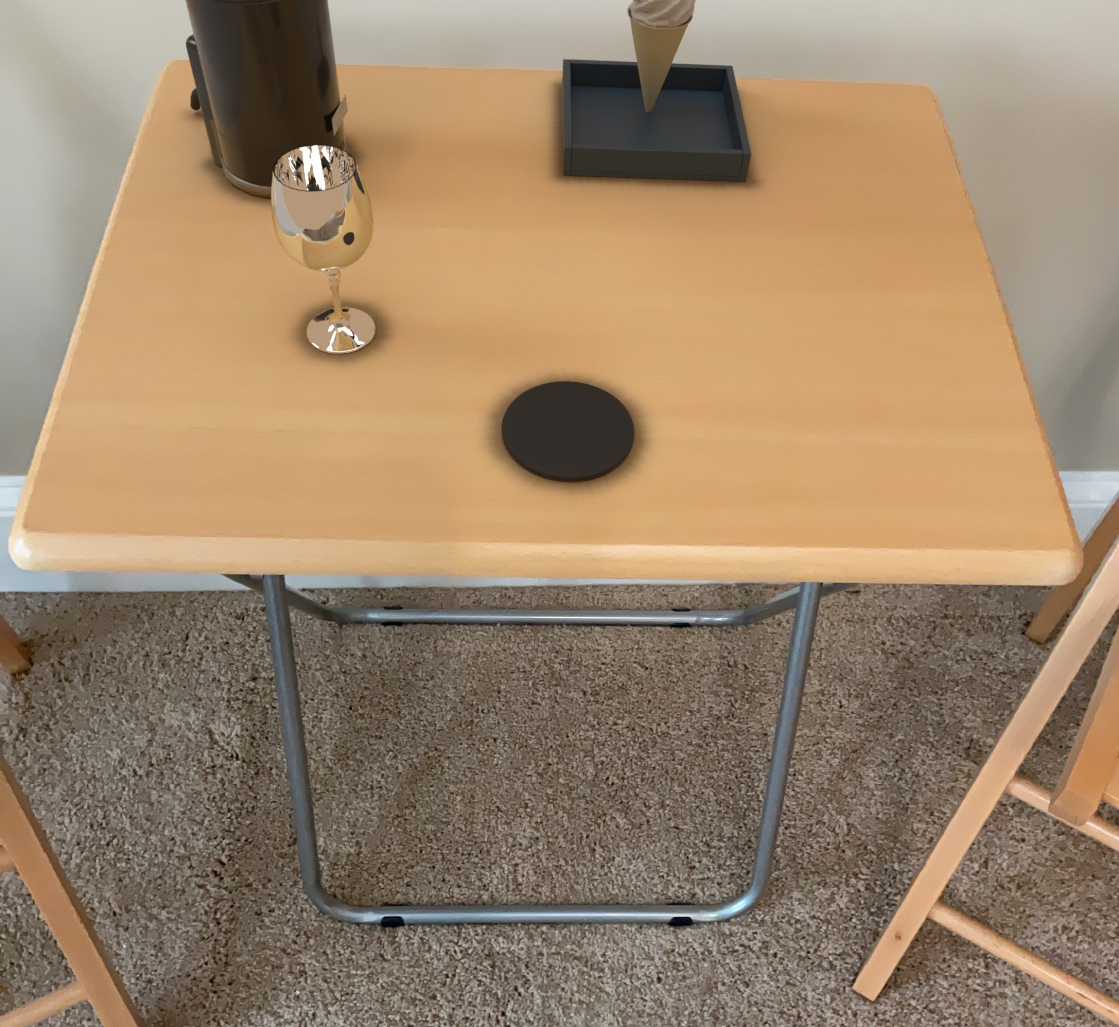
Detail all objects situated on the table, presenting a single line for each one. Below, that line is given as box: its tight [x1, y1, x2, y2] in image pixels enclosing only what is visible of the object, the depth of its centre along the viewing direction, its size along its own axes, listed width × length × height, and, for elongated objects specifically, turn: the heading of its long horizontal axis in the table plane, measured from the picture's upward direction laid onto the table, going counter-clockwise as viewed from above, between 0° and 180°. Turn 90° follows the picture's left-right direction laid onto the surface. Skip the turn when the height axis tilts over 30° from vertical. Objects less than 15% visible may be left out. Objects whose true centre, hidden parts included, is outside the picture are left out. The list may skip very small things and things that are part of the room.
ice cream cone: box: [626, 0, 696, 113], centre depth 79 cm, size 5×5×15 cm
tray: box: [561, 58, 752, 183], centre depth 83 cm, size 14×13×2 cm
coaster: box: [501, 380, 635, 483], centre depth 63 cm, size 8×8×1 cm
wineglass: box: [270, 145, 377, 355], centre depth 63 cm, size 6×6×12 cm
